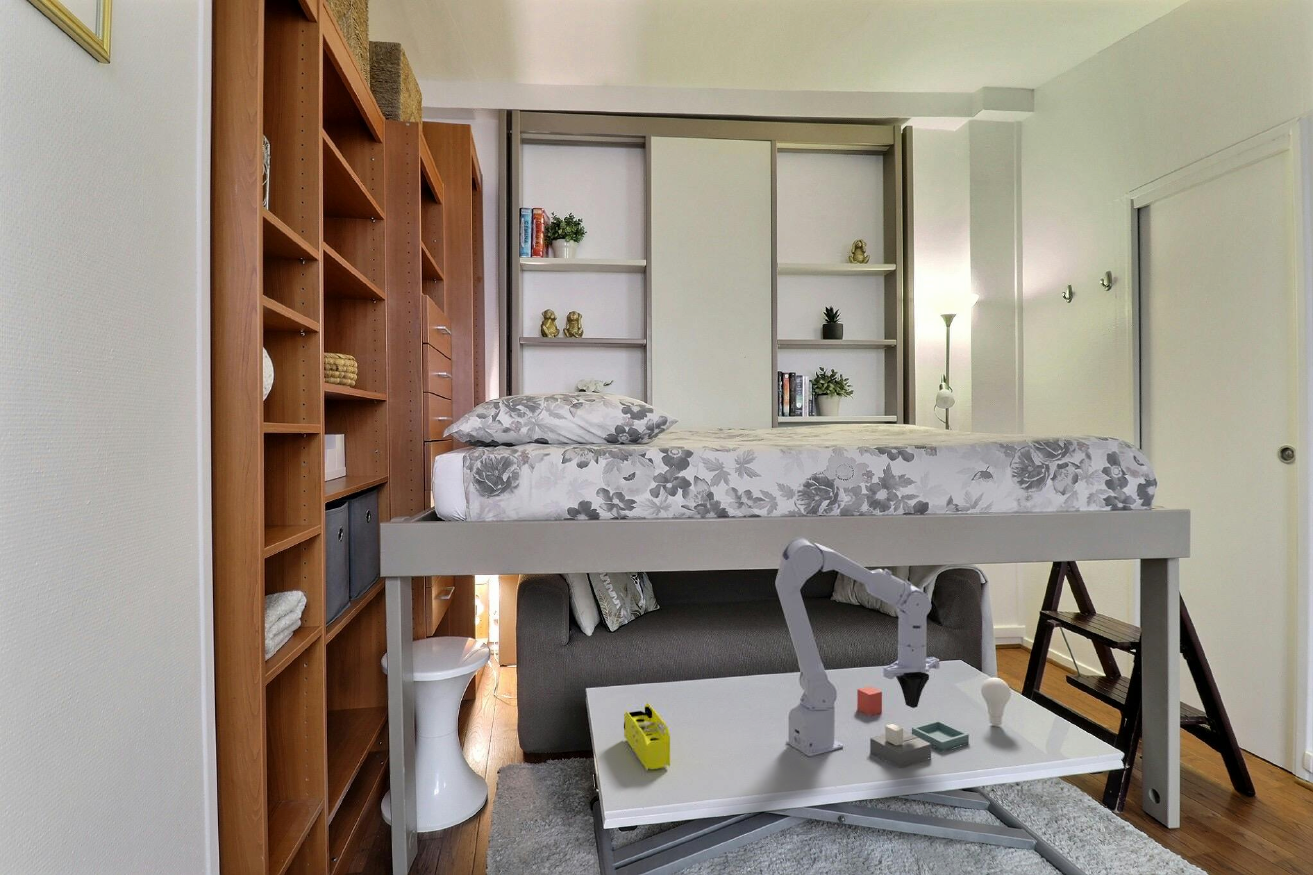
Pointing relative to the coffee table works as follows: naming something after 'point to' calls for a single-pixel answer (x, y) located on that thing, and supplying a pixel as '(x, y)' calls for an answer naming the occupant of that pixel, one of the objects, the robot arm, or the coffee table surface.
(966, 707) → the coffee table surface
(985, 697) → the lightbulb
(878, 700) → the block
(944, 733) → the tray
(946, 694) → the coffee table surface
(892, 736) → the switch
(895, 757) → the grey flat block
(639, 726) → the yellow parts caddy
